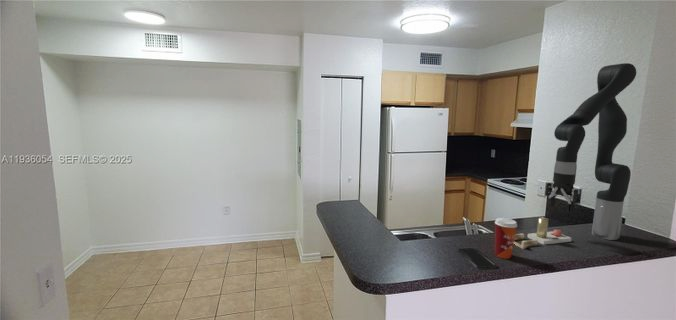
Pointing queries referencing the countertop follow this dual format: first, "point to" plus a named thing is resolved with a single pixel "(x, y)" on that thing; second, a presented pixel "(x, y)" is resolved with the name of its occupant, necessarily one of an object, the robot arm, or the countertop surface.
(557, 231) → the button
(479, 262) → the phone
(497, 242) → the paper cup
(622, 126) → the robot arm
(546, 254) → the countertop surface
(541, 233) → the cell
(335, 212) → the countertop surface
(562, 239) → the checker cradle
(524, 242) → the beige channel block
